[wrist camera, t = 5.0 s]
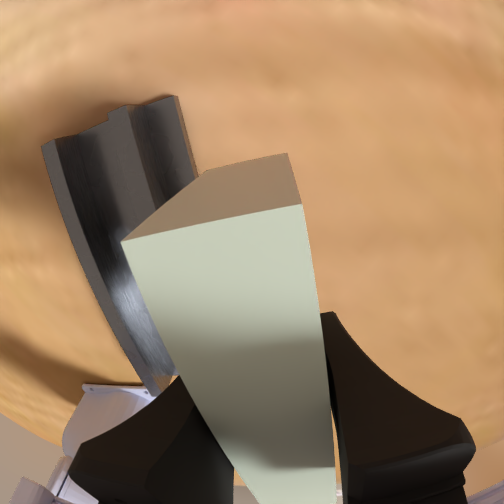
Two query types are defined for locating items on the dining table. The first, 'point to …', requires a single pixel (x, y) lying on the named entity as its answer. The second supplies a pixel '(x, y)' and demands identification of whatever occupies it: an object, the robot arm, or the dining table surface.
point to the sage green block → (244, 323)
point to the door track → (122, 213)
